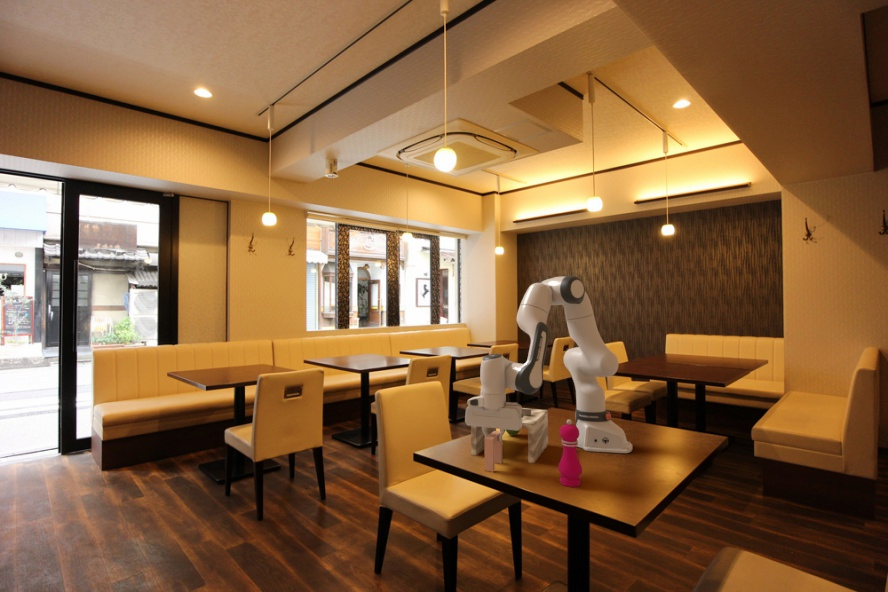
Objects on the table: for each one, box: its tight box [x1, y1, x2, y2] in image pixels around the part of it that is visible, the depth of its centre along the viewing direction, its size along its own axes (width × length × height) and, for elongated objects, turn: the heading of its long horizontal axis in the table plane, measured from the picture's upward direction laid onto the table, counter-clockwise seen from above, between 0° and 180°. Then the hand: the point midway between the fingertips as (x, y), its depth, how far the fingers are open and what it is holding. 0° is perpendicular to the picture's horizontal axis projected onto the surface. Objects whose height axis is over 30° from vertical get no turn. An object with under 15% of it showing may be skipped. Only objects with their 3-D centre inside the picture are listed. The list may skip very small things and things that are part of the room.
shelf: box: [470, 407, 549, 464], centre depth 179 cm, size 24×24×16 cm
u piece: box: [484, 430, 503, 472], centre depth 159 cm, size 3×10×11 cm, turn 155°
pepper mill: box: [557, 419, 583, 488], centre depth 144 cm, size 7×7×20 cm
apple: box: [505, 416, 524, 437], centre depth 199 cm, size 9×8×12 cm
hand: (493, 440), depth 160 cm, fingers closed on u piece, 3 cm apart
